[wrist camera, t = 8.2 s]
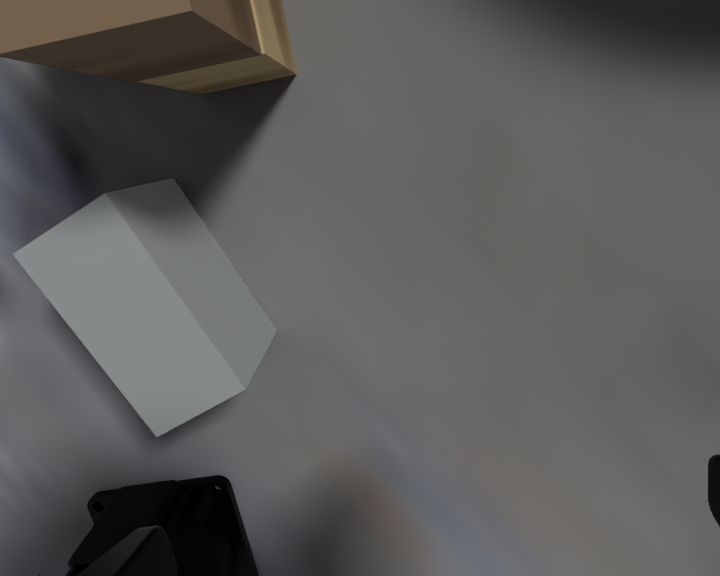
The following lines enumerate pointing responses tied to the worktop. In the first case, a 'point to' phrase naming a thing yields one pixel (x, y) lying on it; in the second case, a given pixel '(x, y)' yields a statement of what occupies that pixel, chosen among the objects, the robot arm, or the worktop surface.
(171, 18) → the walnut brick
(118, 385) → the grey brick
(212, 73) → the oak brick
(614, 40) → the worktop surface
